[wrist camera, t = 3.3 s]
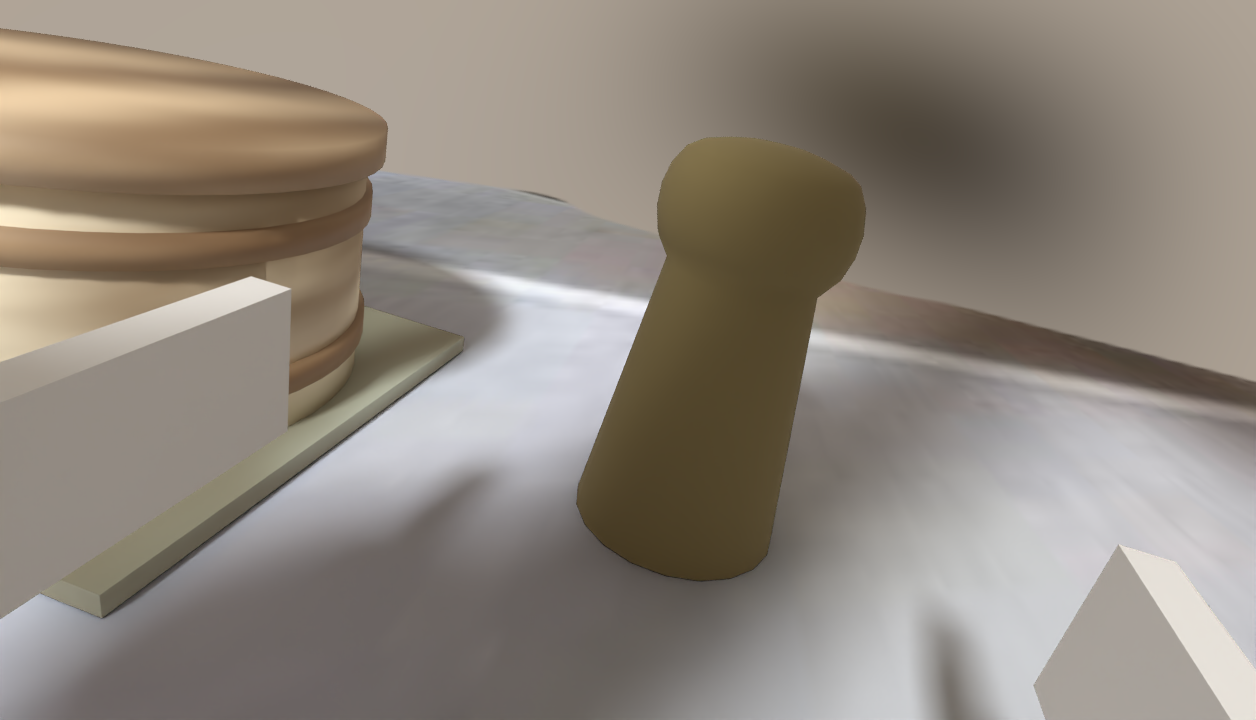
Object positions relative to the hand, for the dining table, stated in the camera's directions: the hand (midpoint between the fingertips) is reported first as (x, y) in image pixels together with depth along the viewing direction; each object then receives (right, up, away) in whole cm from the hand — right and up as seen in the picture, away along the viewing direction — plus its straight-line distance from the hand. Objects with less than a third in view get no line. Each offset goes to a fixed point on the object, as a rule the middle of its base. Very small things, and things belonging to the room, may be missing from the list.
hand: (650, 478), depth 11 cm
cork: (+1, -3, +11) cm, 11 cm away
